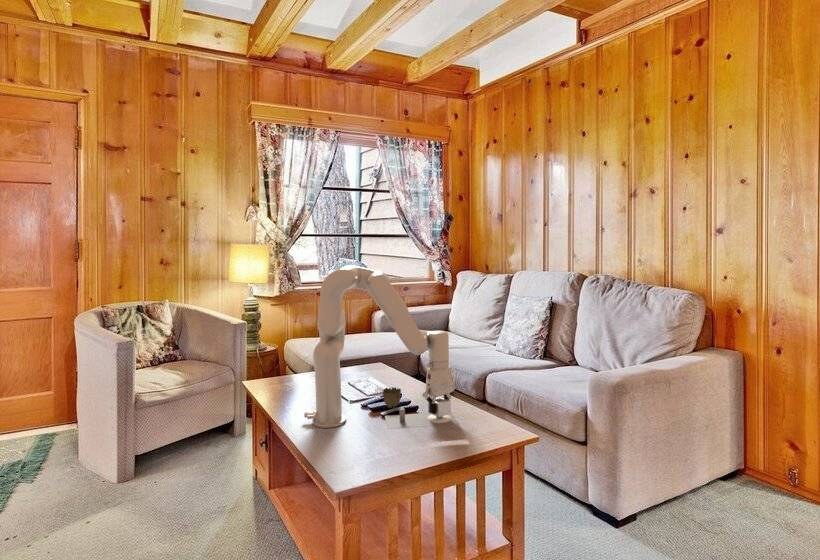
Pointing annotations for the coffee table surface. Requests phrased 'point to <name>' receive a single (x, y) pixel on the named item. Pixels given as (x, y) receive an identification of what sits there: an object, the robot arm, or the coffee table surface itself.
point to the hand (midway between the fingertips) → (439, 410)
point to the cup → (391, 396)
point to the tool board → (418, 420)
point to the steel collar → (441, 407)
